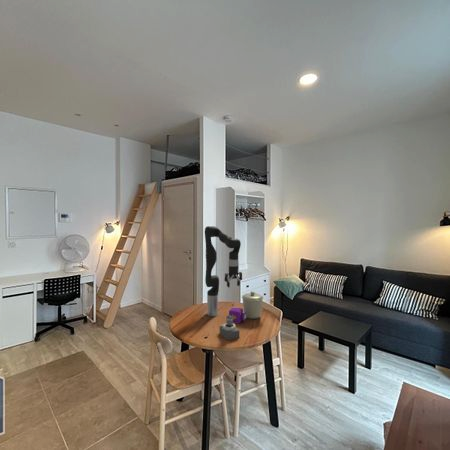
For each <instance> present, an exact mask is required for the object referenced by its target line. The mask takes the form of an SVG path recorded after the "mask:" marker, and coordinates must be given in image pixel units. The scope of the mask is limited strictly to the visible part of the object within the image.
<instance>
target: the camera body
mask: <svg viewBox="0 0 450 450" xmlns="http://www.w3.org/2000/svg"><path fill="white" fill-rule="evenodd" d="M219 334H220V335H221V336H222V337H223V338H224V339H226V340H227V341H232V340H234V339H239V338H240V329H238V328H237V327H236V323H233V327H226V323H224V324H221V325H219Z"/></svg>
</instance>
